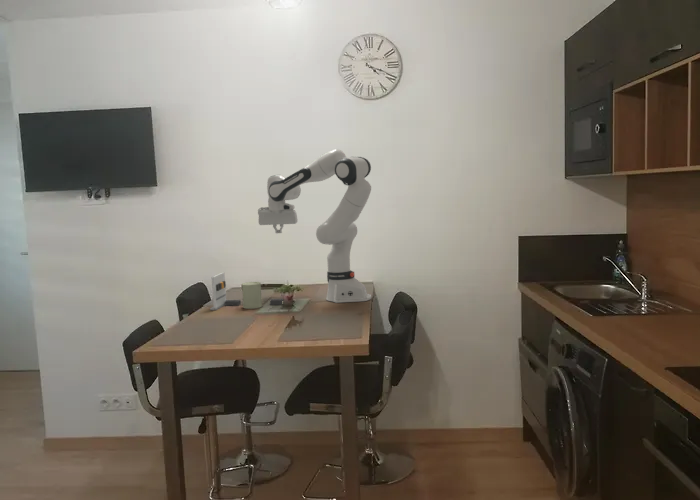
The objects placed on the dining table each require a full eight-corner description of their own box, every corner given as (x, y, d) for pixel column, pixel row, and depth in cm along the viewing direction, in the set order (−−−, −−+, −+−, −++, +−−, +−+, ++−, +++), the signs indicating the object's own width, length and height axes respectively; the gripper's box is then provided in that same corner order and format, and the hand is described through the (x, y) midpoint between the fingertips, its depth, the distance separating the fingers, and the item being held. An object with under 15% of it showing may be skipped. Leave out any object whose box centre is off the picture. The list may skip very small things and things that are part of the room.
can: (261, 308, 279) (259, 283, 278) (242, 309, 279) (240, 284, 277) (263, 304, 289) (261, 280, 287) (244, 305, 288) (242, 281, 287)
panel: (228, 303, 293) (226, 272, 291) (218, 310, 279) (215, 277, 278) (220, 304, 294) (218, 272, 292) (210, 310, 280) (207, 277, 278)
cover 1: (240, 304, 291) (240, 299, 290) (238, 305, 288) (238, 300, 287) (227, 304, 292) (226, 299, 291) (225, 305, 289) (224, 300, 289)
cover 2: (283, 303, 287) (283, 298, 287) (282, 304, 285) (281, 299, 284) (271, 303, 288) (271, 298, 288) (270, 305, 285) (269, 299, 285)
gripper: (255, 207, 302) (257, 234, 303) (294, 206, 298) (296, 233, 300) (259, 207, 308) (261, 233, 309) (297, 205, 305) (298, 231, 306)
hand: (278, 233), depth 305 cm, fingers closed
